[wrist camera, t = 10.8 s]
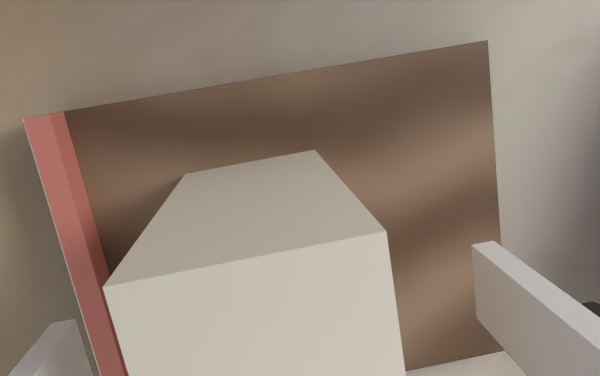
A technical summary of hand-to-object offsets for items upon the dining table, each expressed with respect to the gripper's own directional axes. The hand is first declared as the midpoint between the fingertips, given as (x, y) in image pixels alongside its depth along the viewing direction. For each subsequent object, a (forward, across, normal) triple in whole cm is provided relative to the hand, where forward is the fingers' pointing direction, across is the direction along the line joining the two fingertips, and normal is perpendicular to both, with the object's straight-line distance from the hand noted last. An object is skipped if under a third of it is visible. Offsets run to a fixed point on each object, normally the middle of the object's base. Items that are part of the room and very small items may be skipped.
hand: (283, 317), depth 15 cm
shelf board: (+9, +1, 0) cm, 9 cm away
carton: (+7, 0, 0) cm, 7 cm away
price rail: (+7, -9, 0) cm, 11 cm away
